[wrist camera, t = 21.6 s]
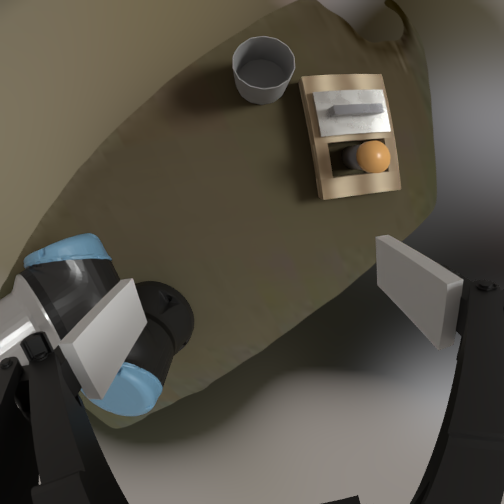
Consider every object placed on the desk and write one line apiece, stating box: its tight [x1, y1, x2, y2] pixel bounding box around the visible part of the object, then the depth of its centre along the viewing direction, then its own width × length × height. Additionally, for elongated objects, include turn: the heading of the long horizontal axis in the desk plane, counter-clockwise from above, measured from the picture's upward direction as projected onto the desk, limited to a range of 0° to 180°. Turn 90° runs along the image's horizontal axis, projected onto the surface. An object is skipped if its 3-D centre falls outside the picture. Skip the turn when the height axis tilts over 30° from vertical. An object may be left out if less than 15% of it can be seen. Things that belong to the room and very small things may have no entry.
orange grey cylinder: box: [342, 141, 390, 173], centre depth 41 cm, size 5×5×10 cm
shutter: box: [312, 90, 391, 137], centre depth 39 cm, size 12×7×3 cm, turn 100°
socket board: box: [298, 74, 401, 200], centre depth 43 cm, size 14×20×4 cm
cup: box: [233, 36, 295, 105], centre depth 38 cm, size 8×8×10 cm
